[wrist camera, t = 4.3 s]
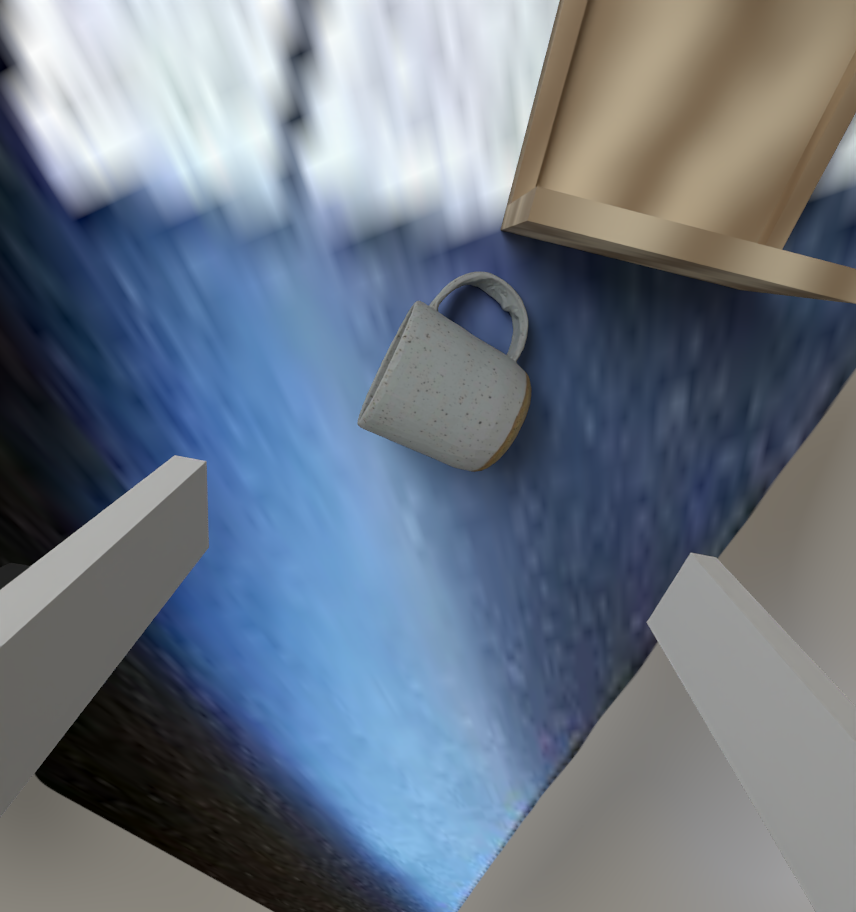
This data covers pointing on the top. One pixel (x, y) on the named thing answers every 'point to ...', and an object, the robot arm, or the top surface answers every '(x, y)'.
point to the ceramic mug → (452, 384)
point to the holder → (690, 136)
